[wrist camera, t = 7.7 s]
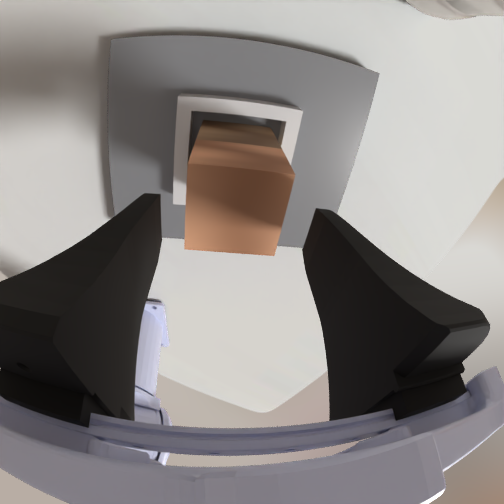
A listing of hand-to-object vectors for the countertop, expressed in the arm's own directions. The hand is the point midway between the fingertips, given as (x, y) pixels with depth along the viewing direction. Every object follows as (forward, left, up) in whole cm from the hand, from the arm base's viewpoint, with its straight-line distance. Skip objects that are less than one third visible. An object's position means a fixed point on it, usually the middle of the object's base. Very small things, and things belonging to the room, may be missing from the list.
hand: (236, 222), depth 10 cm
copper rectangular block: (0, 0, -8) cm, 8 cm away
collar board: (0, 0, -9) cm, 9 cm away
